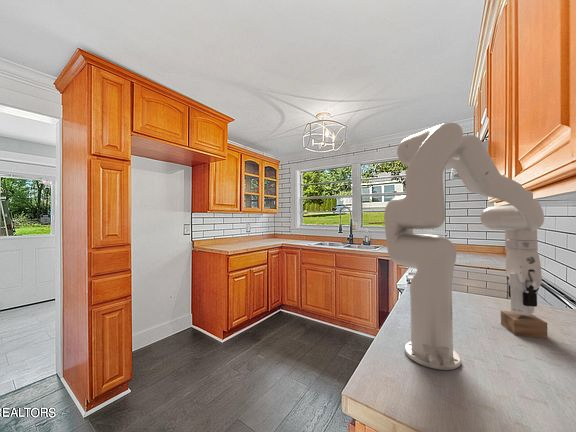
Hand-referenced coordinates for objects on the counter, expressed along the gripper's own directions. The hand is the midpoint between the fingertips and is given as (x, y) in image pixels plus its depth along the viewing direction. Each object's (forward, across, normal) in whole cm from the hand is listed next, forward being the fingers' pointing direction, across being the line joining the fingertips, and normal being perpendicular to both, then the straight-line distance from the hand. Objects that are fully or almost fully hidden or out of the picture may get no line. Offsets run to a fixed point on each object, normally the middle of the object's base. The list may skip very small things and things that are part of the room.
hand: (522, 301), depth 79 cm
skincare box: (+3, 0, 0) cm, 3 cm away
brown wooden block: (+9, 0, 0) cm, 9 cm away
